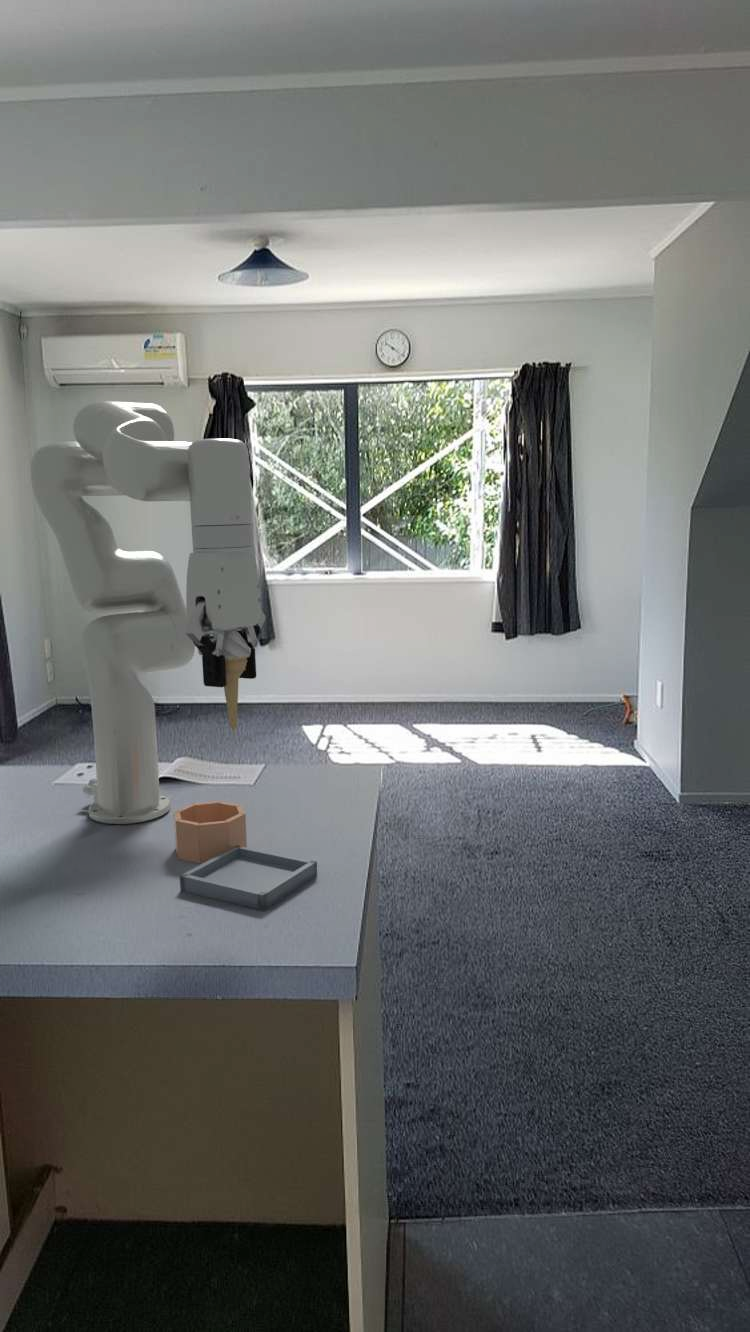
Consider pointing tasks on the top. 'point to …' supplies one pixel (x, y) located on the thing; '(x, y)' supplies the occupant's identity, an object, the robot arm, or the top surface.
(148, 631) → the robot arm
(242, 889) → the slate tray
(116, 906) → the top surface
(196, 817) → the holder cup
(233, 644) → the ice cream cone
